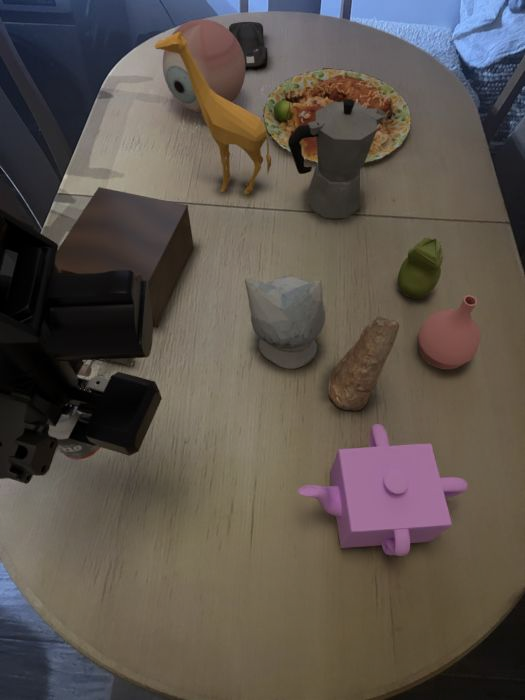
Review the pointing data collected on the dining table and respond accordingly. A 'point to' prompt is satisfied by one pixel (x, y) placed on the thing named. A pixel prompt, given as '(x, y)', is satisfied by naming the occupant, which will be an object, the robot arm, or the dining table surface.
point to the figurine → (287, 319)
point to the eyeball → (206, 62)
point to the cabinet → (130, 242)
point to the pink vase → (450, 336)
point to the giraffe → (222, 115)
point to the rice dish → (335, 86)
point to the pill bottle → (70, 446)
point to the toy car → (251, 43)
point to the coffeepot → (337, 155)
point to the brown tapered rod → (362, 364)
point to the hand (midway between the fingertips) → (75, 429)
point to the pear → (421, 269)
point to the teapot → (387, 495)
